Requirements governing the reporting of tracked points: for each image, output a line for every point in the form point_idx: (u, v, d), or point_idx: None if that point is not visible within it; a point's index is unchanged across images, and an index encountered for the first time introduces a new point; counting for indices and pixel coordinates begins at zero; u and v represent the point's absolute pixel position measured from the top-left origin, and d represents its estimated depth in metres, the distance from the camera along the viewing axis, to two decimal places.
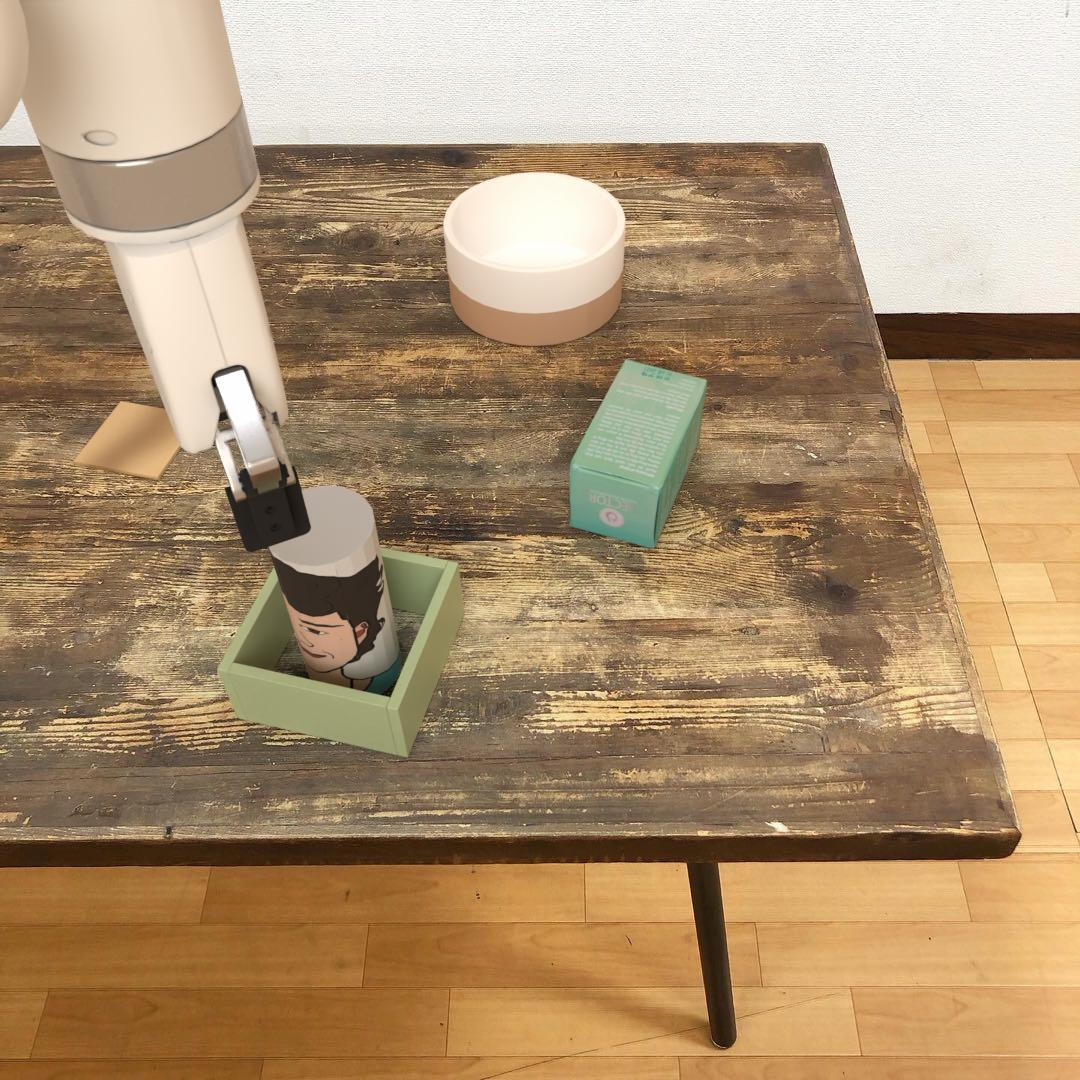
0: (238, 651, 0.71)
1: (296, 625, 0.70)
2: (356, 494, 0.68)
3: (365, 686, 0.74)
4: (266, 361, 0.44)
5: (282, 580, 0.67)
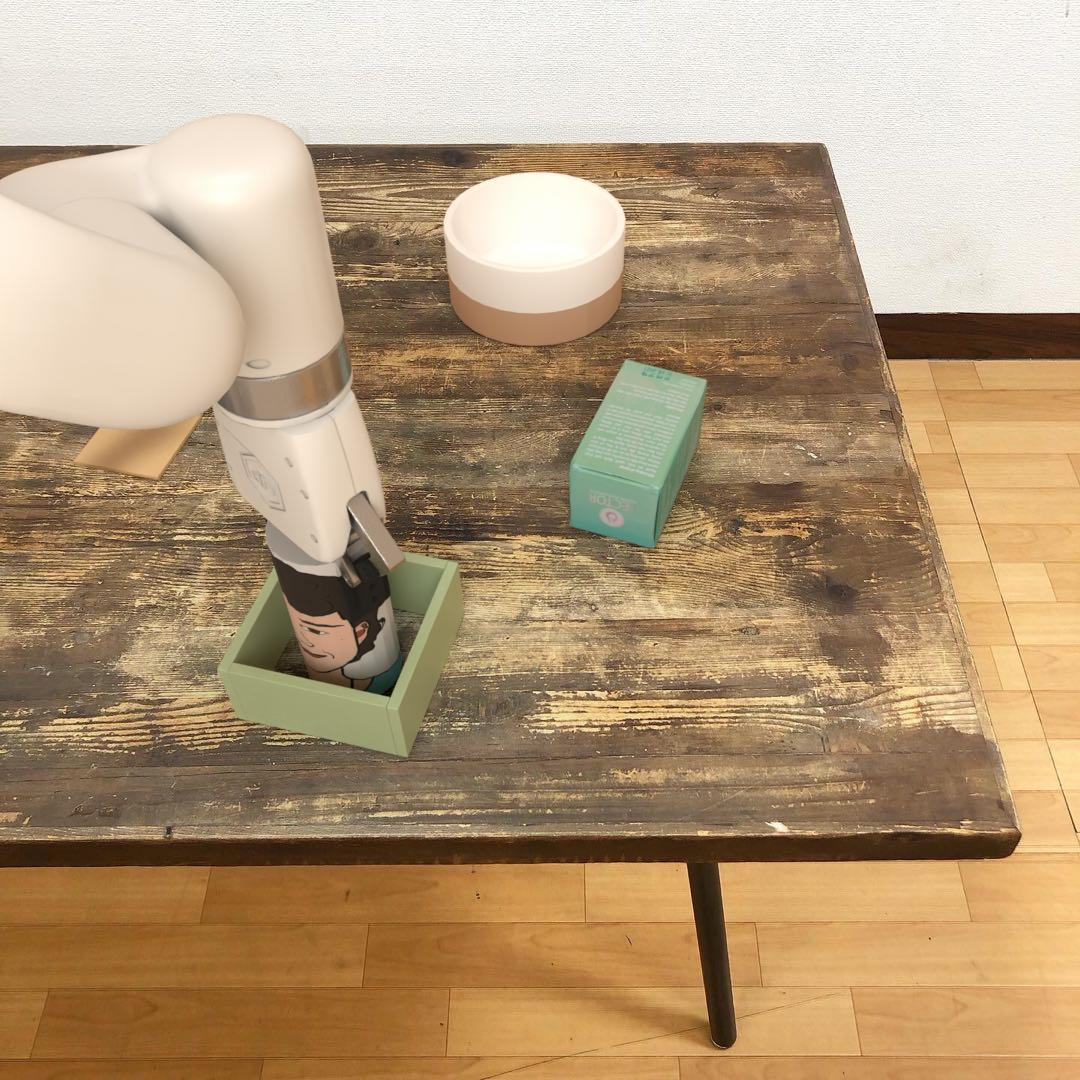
0: (238, 651, 0.71)
1: (296, 625, 0.70)
2: None
3: (365, 686, 0.74)
4: (377, 483, 0.60)
5: (282, 580, 0.67)
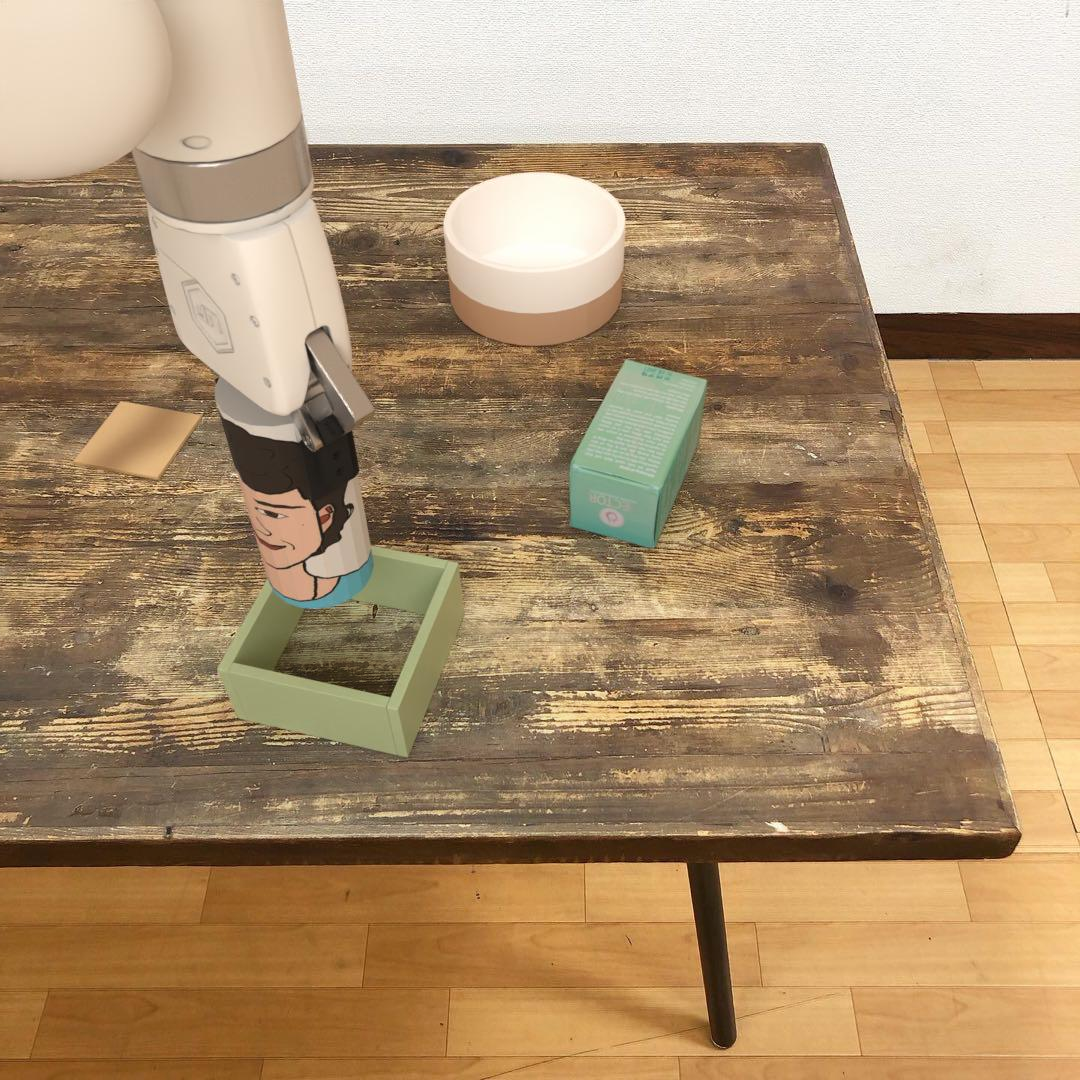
0: (238, 651, 0.71)
1: (251, 509, 0.61)
2: None
3: (331, 587, 0.65)
4: (342, 320, 0.51)
5: (234, 450, 0.58)
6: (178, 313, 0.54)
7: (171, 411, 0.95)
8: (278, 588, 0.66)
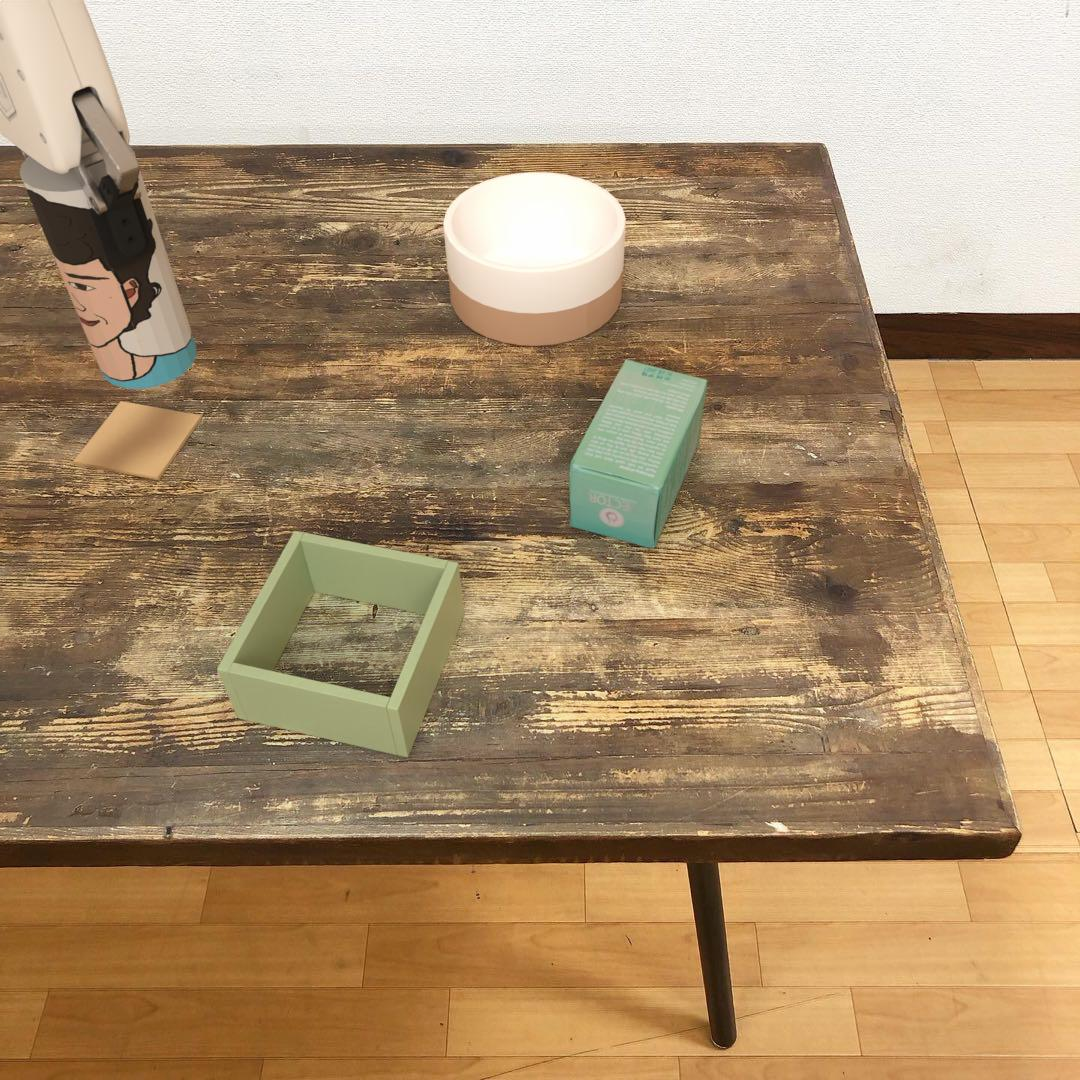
0: (238, 651, 0.71)
1: (67, 285, 0.69)
2: None
3: (148, 366, 0.73)
4: (109, 84, 0.59)
5: (41, 222, 0.65)
6: None
7: (171, 411, 0.95)
8: (104, 370, 0.74)
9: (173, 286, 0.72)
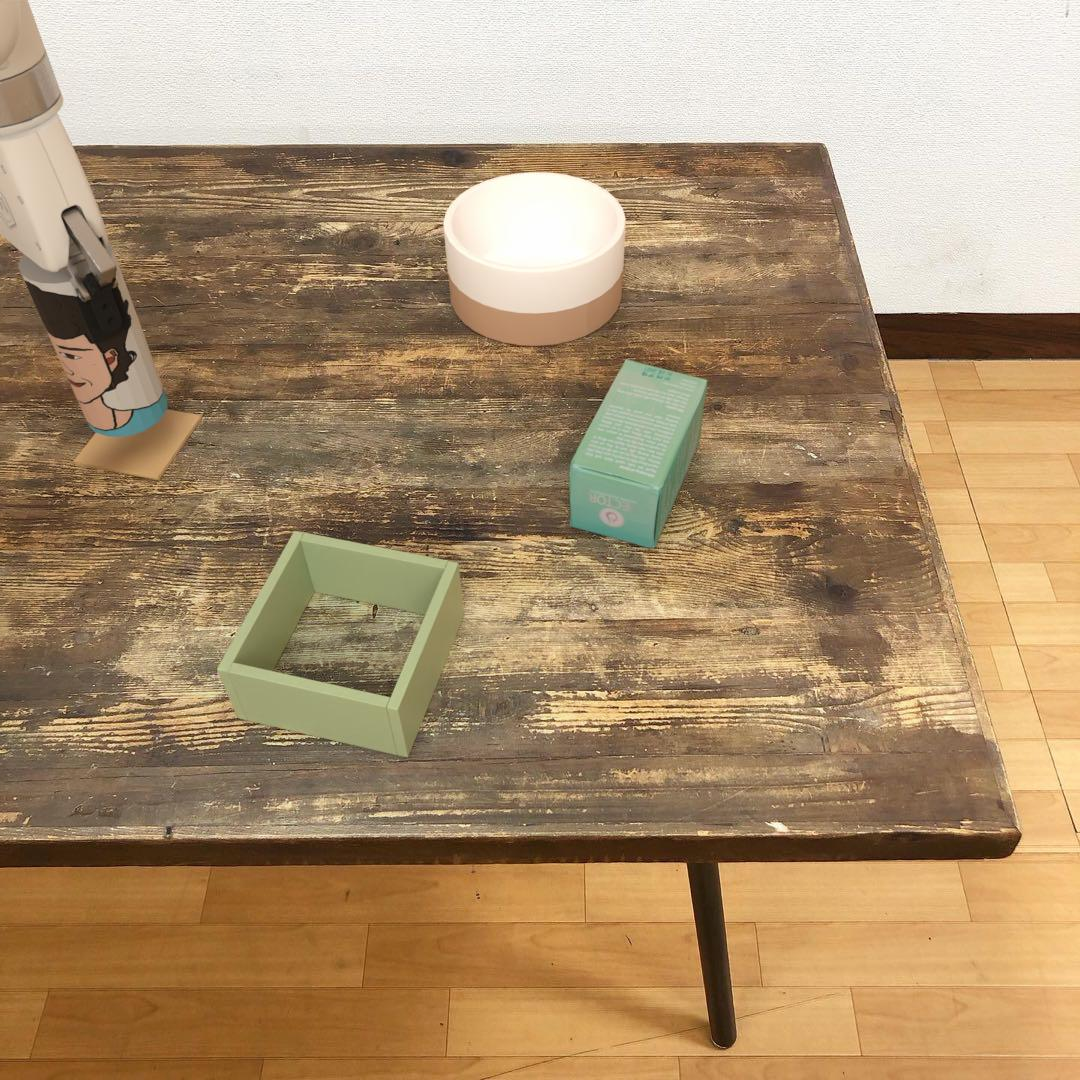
0: (238, 651, 0.71)
1: (58, 354, 0.83)
2: None
3: (127, 418, 0.87)
4: (91, 202, 0.73)
5: (36, 305, 0.80)
6: None
7: (171, 411, 0.95)
8: (89, 421, 0.88)
9: (146, 352, 0.86)
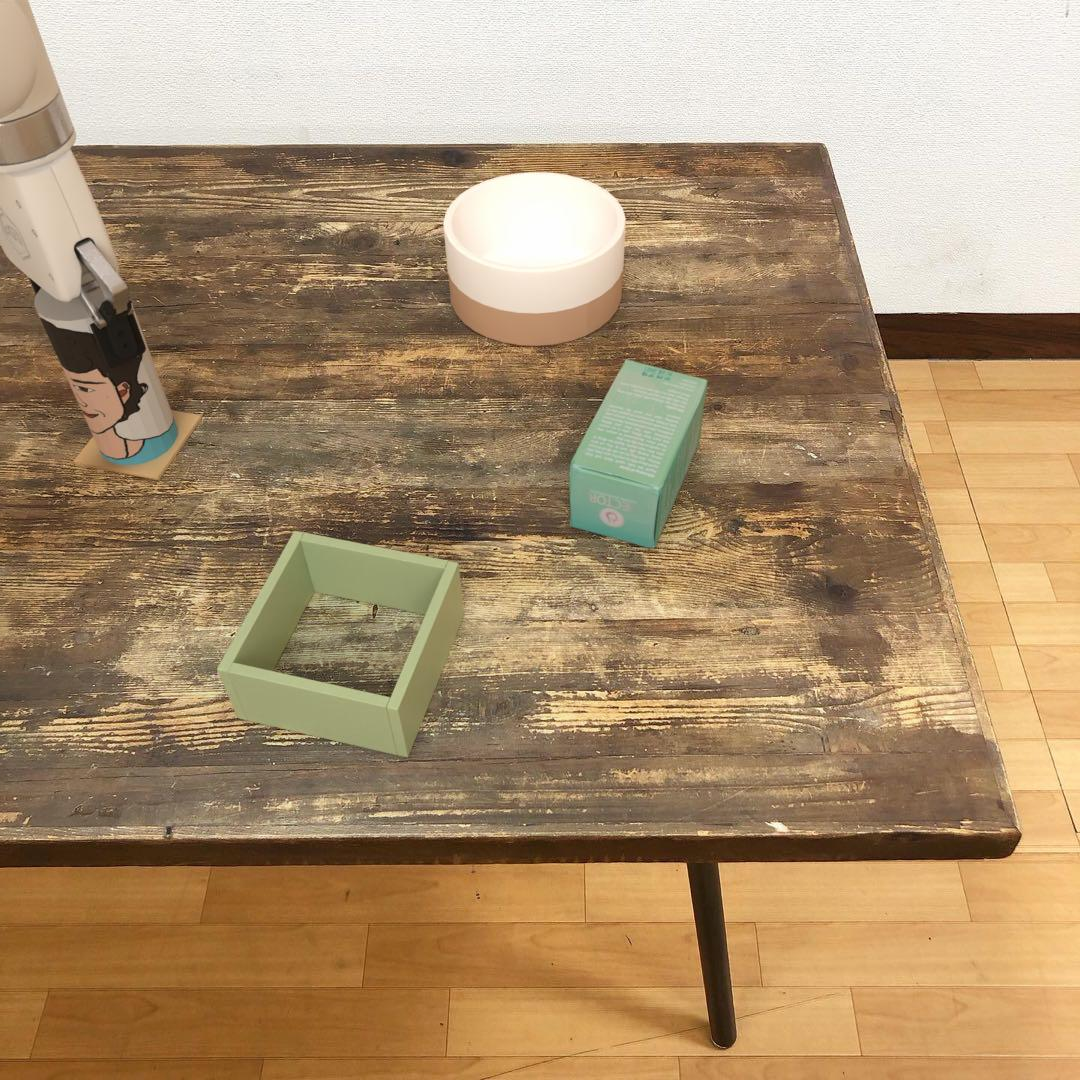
0: (238, 651, 0.71)
1: (72, 387, 0.86)
2: None
3: (138, 448, 0.90)
4: (102, 234, 0.75)
5: (51, 341, 0.82)
6: None
7: None
8: (102, 450, 0.91)
9: (157, 383, 0.89)
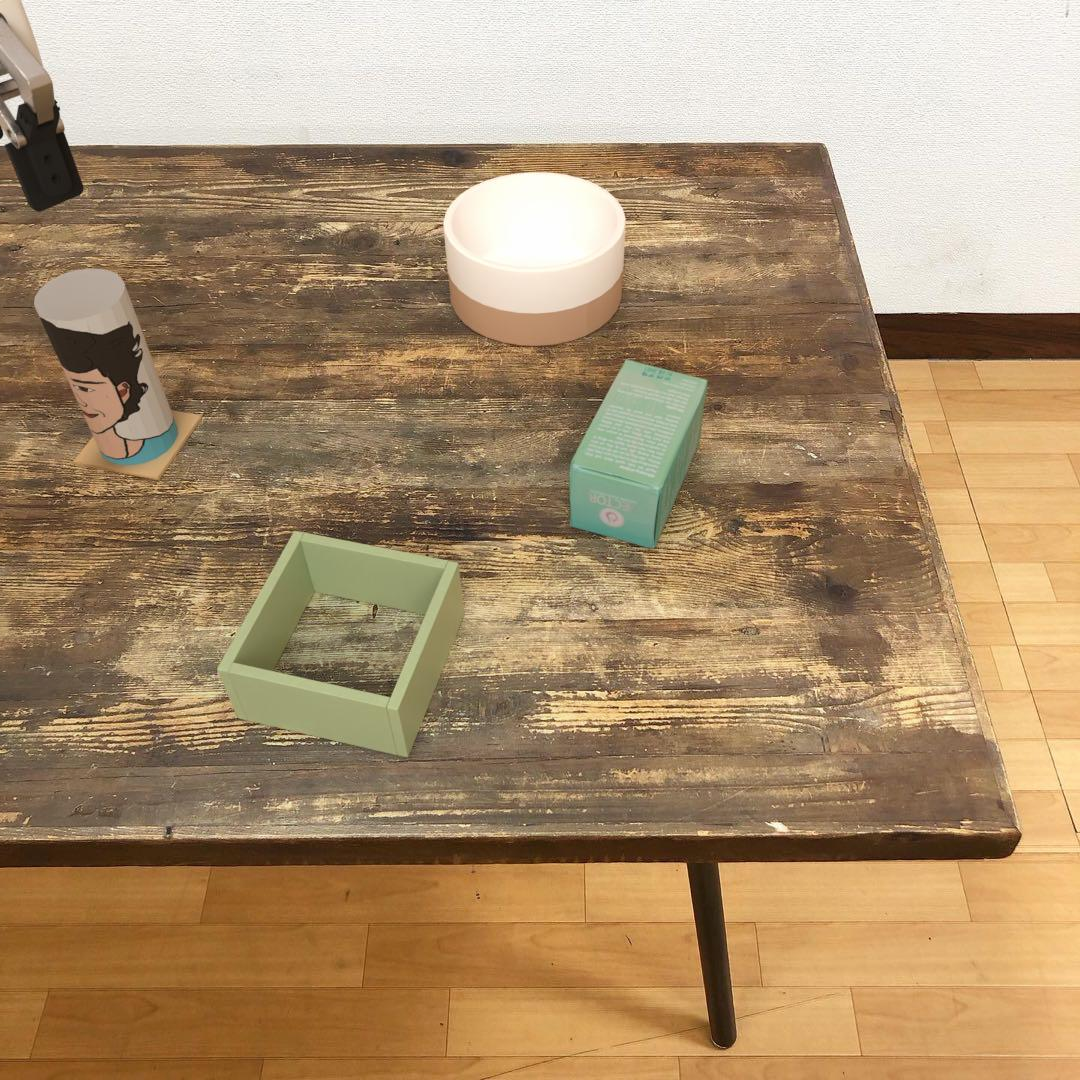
0: (238, 651, 0.71)
1: (71, 387, 0.86)
2: (114, 274, 0.83)
3: (138, 447, 0.90)
4: (18, 10, 0.55)
5: (51, 340, 0.82)
6: None
7: None
8: (102, 450, 0.91)
9: (157, 383, 0.89)
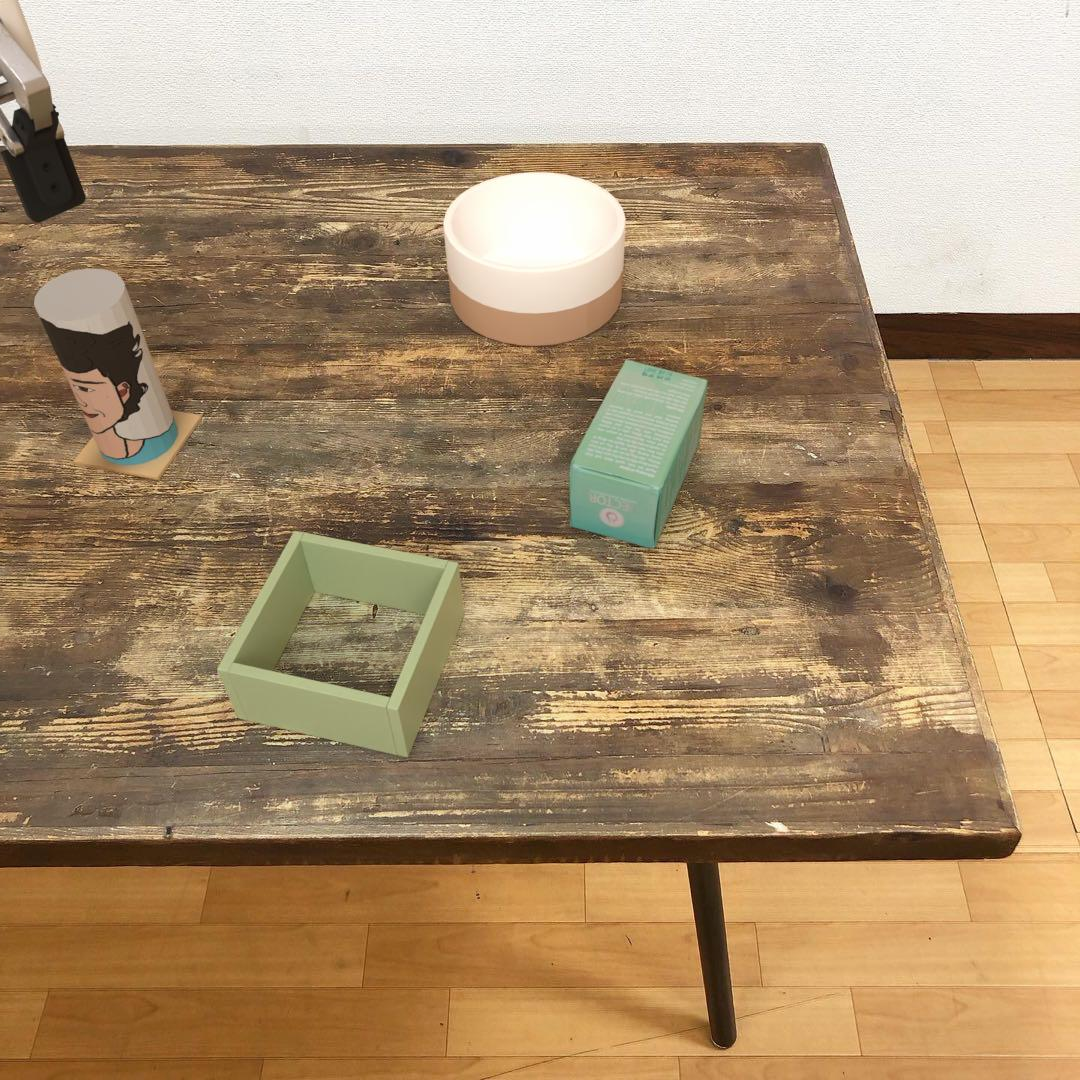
0: (238, 651, 0.71)
1: (71, 387, 0.86)
2: (114, 274, 0.83)
3: (138, 447, 0.90)
4: (13, 8, 0.51)
5: (51, 340, 0.82)
6: None
7: None
8: (102, 450, 0.91)
9: (157, 383, 0.89)
